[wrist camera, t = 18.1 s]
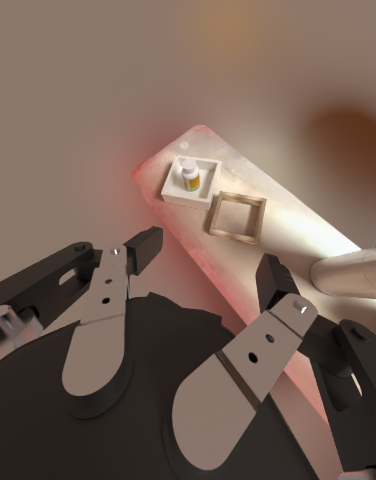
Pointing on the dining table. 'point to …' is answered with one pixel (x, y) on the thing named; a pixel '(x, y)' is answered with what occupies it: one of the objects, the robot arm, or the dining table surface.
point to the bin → (197, 199)
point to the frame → (245, 200)
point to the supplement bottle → (190, 175)
